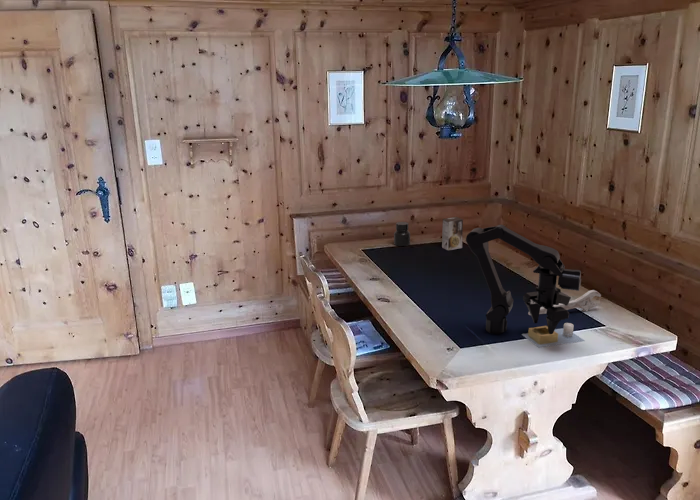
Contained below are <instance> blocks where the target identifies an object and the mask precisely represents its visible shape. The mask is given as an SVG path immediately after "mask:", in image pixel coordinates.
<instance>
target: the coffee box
mask: <svg viewBox="0 0 700 500" xmlns="http://www.w3.org/2000/svg"><path fill="white" fill-rule="evenodd" d="M463 222H464V219H462V218H461V217H458V216H453V217H447V218H442V233H441V234H442V235H441V237H442V239H441V241H442V242H441V247H442V249H444V250H446V251H453V250H457V249H463V235H464V233H463V232H464V231H463V229H464V227H463V225H464V223H463Z"/></svg>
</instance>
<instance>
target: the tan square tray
mask: <svg viewBox="0 0 700 500" xmlns="http://www.w3.org/2000/svg"><path fill="white" fill-rule="evenodd" d="M527 333H528V336H529V337H530V338H531V339H533V340H534V341H535V342H537V343H538V344H539V345H540V344H547V343H554V342H558V333H556V332H555V331H554V332H553V334H549V331H548V326H547V325H542V326H536V327H528V332H527Z"/></svg>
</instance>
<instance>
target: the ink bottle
mask: <svg viewBox="0 0 700 500" xmlns="http://www.w3.org/2000/svg"><path fill="white" fill-rule="evenodd" d="M393 244H394V245H395V246H397V247H408V246H410V244H411V232H410V231H409V222H406V221H398V222H396V223H395V231H394V233H393Z"/></svg>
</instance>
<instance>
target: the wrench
mask: <svg viewBox="0 0 700 500" xmlns="http://www.w3.org/2000/svg"><path fill="white" fill-rule="evenodd" d="M601 296H602V294H601V293H600V292H598V291H597V290H595V289H592V290H588V291H587V292H585V293H584V294H582V295H581V296H579V297H578V298H576V299H571V300H570V301H569V303H568V306H566V305H564V304H560V303H559V305H554V307H563V308H564V309H566V310H567V311H568V310H572V309H577V308H578V309H582V311H583V312H588V310H592V309H594V308H596V307H597V306H598V303H596V302H594V301H593V302H592V300H593V298H595V297H599V298H601ZM546 313H547V309H545V308H544V307H541V308H540V312H539V315H545V314H546ZM527 314H528V315H529V316H531V314H530V312H529V311H528V313H527ZM546 315H547V314H546Z"/></svg>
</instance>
